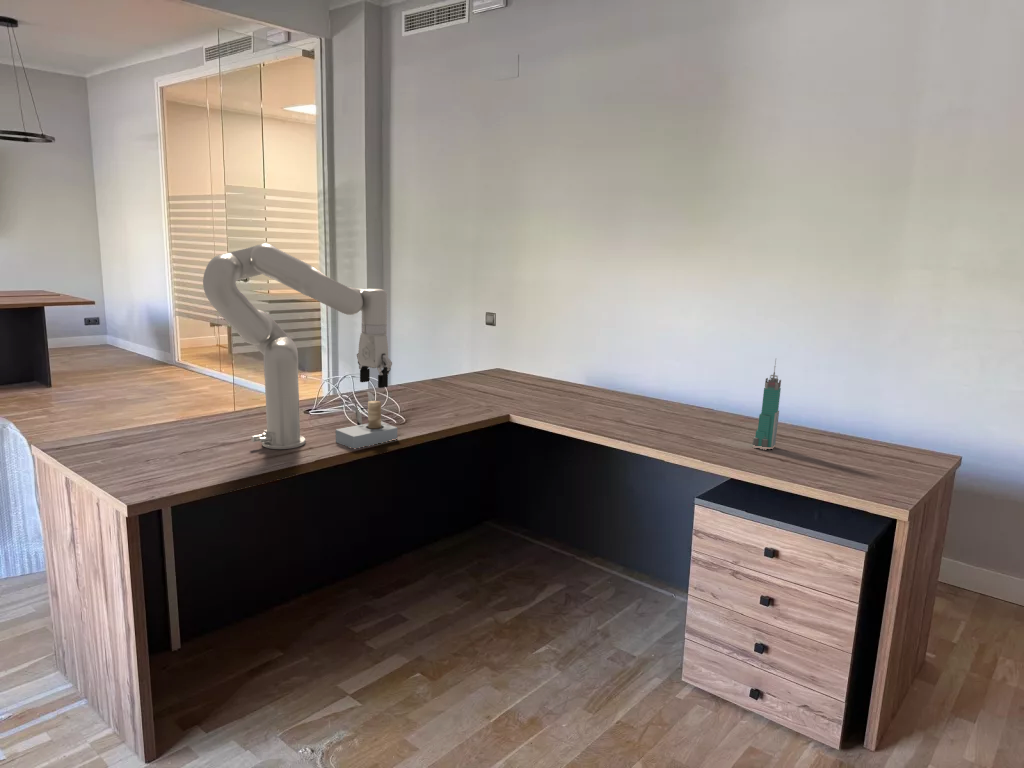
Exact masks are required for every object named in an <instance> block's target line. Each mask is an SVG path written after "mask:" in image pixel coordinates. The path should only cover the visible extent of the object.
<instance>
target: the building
mask: <svg viewBox="0 0 1024 768" xmlns="http://www.w3.org/2000/svg"><path fill="white" fill-rule="evenodd" d="M776 362H777V359H775V360H774V366H773V374H770V375H769V378H768V377H767V378H765V383H764V388H763V395H762V396H763V397H762V402H761V403H762V405H761V412H760V413H759V416H758V424H757V429H756V430H755V436H753V438H752V445H755V446H762V447H773V446H774V445H775V446H776V444H777V443H776V442H777V435H778V425H779V417H780V410H779V408H780V407H779V406H780V399H781V392H782V391H781V389H782V388H781V386H782V385H781V383H782V379H779V377H778V375H776V367H777V366H776V364H777V363H776Z"/></svg>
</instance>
